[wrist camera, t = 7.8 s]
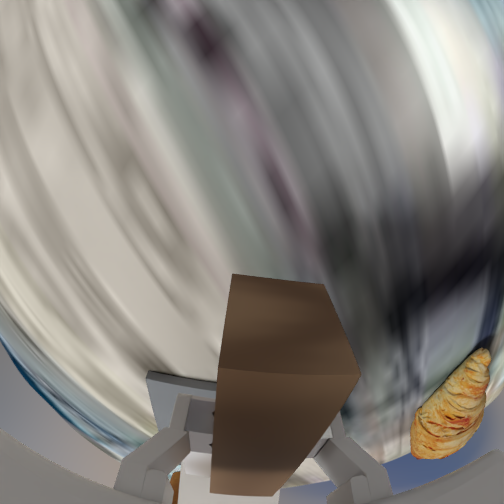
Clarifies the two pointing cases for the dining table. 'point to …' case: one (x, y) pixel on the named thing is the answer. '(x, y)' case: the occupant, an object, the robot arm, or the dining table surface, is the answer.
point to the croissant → (452, 410)
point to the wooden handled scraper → (274, 384)
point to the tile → (201, 500)
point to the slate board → (173, 394)
